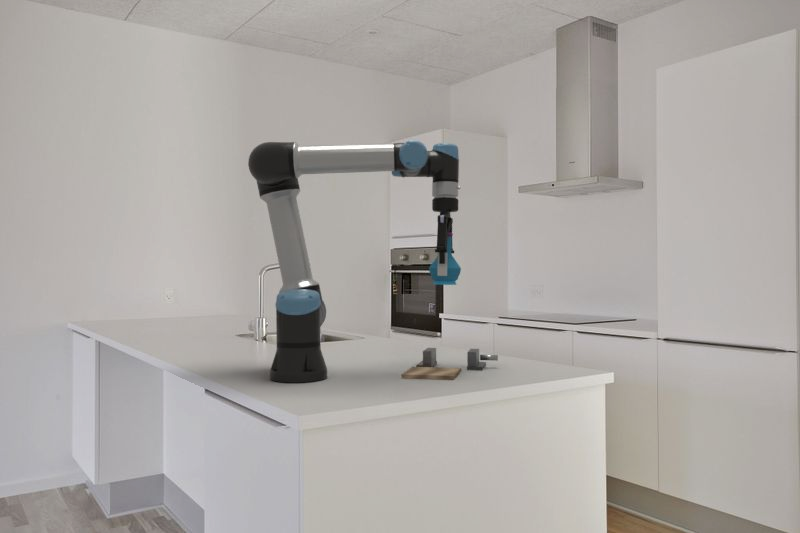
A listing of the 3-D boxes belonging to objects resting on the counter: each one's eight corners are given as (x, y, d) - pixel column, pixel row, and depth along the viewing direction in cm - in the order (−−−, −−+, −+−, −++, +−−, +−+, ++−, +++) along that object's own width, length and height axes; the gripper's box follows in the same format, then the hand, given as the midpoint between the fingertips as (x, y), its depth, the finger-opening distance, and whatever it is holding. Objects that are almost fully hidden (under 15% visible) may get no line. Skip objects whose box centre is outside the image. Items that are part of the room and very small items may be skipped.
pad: (401, 378, 178) (401, 374, 178) (412, 370, 191) (412, 366, 191) (453, 379, 174) (453, 376, 174) (461, 371, 188) (461, 367, 188)
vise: (416, 368, 194) (415, 351, 194) (422, 363, 204) (422, 347, 204) (496, 370, 189) (496, 353, 189) (499, 365, 199) (499, 348, 199)
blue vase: (439, 283, 200) (439, 233, 200) (466, 284, 195) (467, 233, 195) (422, 284, 192) (423, 232, 192) (450, 285, 187) (451, 231, 187)
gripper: (453, 193, 182) (453, 276, 182) (462, 201, 203) (461, 275, 203) (426, 193, 183) (425, 275, 183) (437, 201, 205) (437, 275, 205)
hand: (444, 275), depth 193 cm, fingers closed on blue vase, 9 cm apart
